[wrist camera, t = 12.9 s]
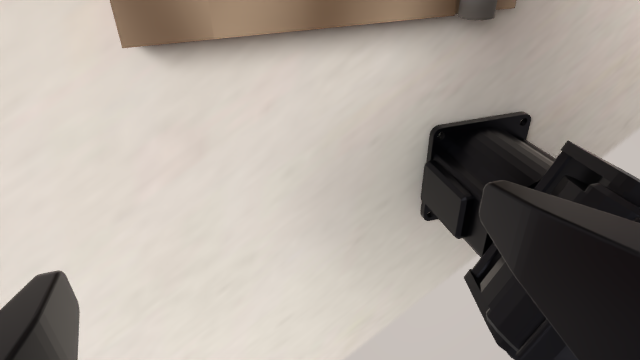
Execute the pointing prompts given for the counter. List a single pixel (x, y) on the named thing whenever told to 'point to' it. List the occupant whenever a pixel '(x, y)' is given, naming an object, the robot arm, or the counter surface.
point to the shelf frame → (273, 16)
